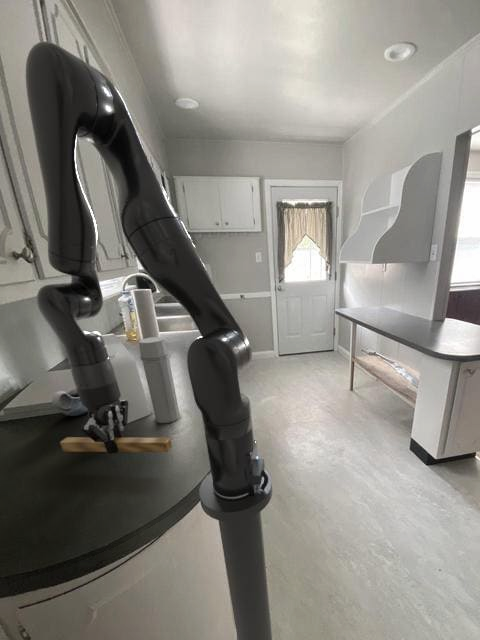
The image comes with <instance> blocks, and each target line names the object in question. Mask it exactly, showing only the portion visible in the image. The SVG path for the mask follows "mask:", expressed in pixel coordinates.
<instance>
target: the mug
mask: <svg viewBox="0 0 480 640" xmlns="http://www.w3.org/2000/svg"><path fill="white" fill-rule="evenodd" d="M51 404H52V406H53V407H54V408H55V409H57V410H59V411H60V413H62V415H65V416H67V417H79V416H83V415H85V414H88V409H87V408H86V407H85V406H83V405H82V403H81V400H80V397H79V394H78V391H77V388H74V389H70V390H67V391H62V390H60V391H56V392H55V393H53V395H52V397H51Z"/></svg>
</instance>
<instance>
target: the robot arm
mask: <svg viewBox="0 0 480 640" xmlns="http://www.w3.org/2000/svg"><path fill="white" fill-rule="evenodd" d="M25 87H26V96H27V104H28V110H29V114H30V119H31V125H32V131H33V136H34V142H35V143H34V144H35V148H36V154H37V159H38V163H39V169H40V174H41V179H42V185H43V191H44V197H45V204H46V216H47V217H46V218H47V258H48V259H47V260H48V264H49V265H50V267H52V269H54V270H55V271H57V272H59V273H62V274H65V275H67V276H70V277H71V281H70V282H62V283H51V284H45V285H43V286H42V287H40V288H39V289H38V292H37V294H36V305H37V308H38V310H39V312H40V315H42V317H43V319H44V320H45V321H46V323H47V324H48V326H49V327H50V328H51V330H52V331H53V333H54V334H55V335H56V337H57V339H59V341H60V342H61V345H62V346H63V348H64V352H65V354H66V357H67V360H68V363H69V367H70V373H71V376H72V379H73V382H74V383H73V384H74V385H75V389H77V391H78V394H79V397H80V400H81V403H82V405H83V406H85V407H86V408H87V409H88V412H87V418H88V420H87V422H86V424H82V425H81V426H80V430H81V432H83V433H84V434H85V435H86V436H87V437H90V438H91V439H92V440H93V441H95V442H104V444H105V447H106V451H107V452H106V453H108V454H110V455H111V454H114V455H115V454H117V453H119V452H118V451H119V450H118V447H117V444H116V440H115V438H125V434H124V430H125V426H127V425H128V423H127V422H128V401H127V400H125V401H124V400H119V398H120V396H121V394H120V390H119V387H118V383H117V380H116V376H115V373H114V369H113V366H112V364H111V362H110V360H109V356H108V353H107V350H106V346H105V343H104V340H103V337H102V333H100V332H99V331H97V330H83V329H82V327H81V326H80V325H79V324H78V321H80V320H81V321H82V320H86V319H90V318H94V317H96V316H98V315H99V313H100V312H101V311H102V308H103V305H104V297H103V292H102V289H101V284H100V279H99V275H98V271H97V267H96V262H97V247H98V245H97V244H98V229H97V224H96V219H95V217H94V214H93V211H92V209H91V205H90V204H89V201H88V199H87V197H86V194H85V192H84V189H83V187H82V183H81V180H80V178H79V173H78V169H77V161H76V148H77V139H80V140H82V141H84V142H88V143H89V144H91V145H92V146H93V147H94V148H95V149H96V151H97V152H98V154H99V155H100V156H101V158H102V160H103V161H104V163H105V165H106V166H107V168H108V170H109V172H110V174H111V175H112V177H113V180H114V183H115V185H116V189H117V195H118V196H117V197H118V198H117V199H118V216H119V224H120V228H121V231H122V233H123V236H124V237H125V239H126V242H127V243H128V246H129V247H130V249H131V250H132V252H133V254H134V256H135V257H136V259H137V261H138V263H139V265H140V266H141V267H142V269H143V270H144V271H145V273H146V274H147V275H148V277H150V279H151V280H153V281H154V283H155V284H157V286H159V288H161V290H163V291H164V292H165V293H167V294H168V295H169V296H170V297H171V298H172V299H174V301H176V302H177V304H179V305H180V306H181V307H182V308H183V309H184V310H185V311H186V312H187V314H188V315H189V316H190V318H191V320H192V321H193V323H194V324H195V326H196V328H197V330H198V332H199V334H200V336H199V337H197V338H195V339H194V340H193V341H192V342H190V345H189V347H188V348H187V353H186V364H187V371H188V376H189V380H190V385H191V389H192V394H193V398H194V402H195V404H196V407H197V408H198V410H199V411H200V414H201V418H202V423H203V430H204V435H205V442H206V449H207V456H208V461H209V468H210V473H211V474H212V480H213V490H214V493H215V494H216V496H217V497H219V498H220V499H223V500H227V501H236V500H241V499H244V498H246V497H248V496H254V495H255V492H256V488H257V486H258V485H260V484H261V480H262V476H263V477H264V483H263V484H262V486H261V489H262V490H264V489H265V487H266V486H267V484H268V476H267V474H266V473H265V471H264V469H266V468H265V467H266V466H265V465H266V464H265V459H264V458H259V455H258V453H259V452H258V444H257V443H258V442H257V440H256V439H254V430H253V419H252V418H253V417H252V406H251V405H252V404H251V399H250V398H249V396H247V395H246V394H244V393H242V392H241V388H240V381H239V376H240V375H241V374H242V373H244V371H246V370H247V369H248V367H249V366H250V364H251V362H252V360H253V350H252V346H251V343H250V340H249V339H248V337H247V335H246V334H245V332H244V330H243V329H242V327H241V326H240V324H239V323H238V321H237V320H236V318H235V317H234V315H233V314H232V312H231V311H230V309H229V308H228V306H227V304H226V303H225V301H224V299H223V298H222V296H221V294H220V293H219V291H218V289H217V287H216V285H215V283H214V281H213V279H212V277H211V276H210V273H209V271H208V270H207V268H206V266H205V264H204V262H203V260H202V259H201V257H200V255H199V253H198V252H197V249H196V246H195V245H194V243H193V240H192V238H191V236H190V234H189V233H188V231H187V229H186V228H185V225H184V223H183V221H182V219H181V217H180V216H179V214H178V213H177V211H176V210H175V208H174V206H173V204H172V202H171V200H170V198H169V196H168V194H167V192H166V190H165V188H164V186H163V184H162V182H161V181H160V179H159V177H158V175H157V173H156V170H155V169H154V167H153V165H152V164H151V162H150V159H149V157H148V154H147V152H146V151H145V148H144V146H143V144H142V141H141V138H140V136H139V133H138V131H137V129H136V127H135V124H134V122H133V119H132V117H131V114H130V112H129V109H128V108H127V106H126V103H125V101H124V98H123V97H122V95H121V93H120V92H119V90H118V88H117V87H116V86H115V84H114V83H113V82H112V81H111V79H109V78H108V77H107V76H106V74H104V73H102V72H101V71H100V70H98V69H97V68H96V67H94V66H92V65H91V64H89V63H87V62H86V61H84V60H83V59H81V58H80V57H79V56H76V55H75V54H73V53H72V52H69V51H68V50H67V49H65V48H63V47H62V46H60V45H58V44H56V43H54V42H50V41H38V42H37V43H36V44H34V45H32V47H31V49H30V50H29V52H28V54H27V58H26V62H25ZM121 415H123V419H122V417H121ZM106 433H107V434H106Z"/></svg>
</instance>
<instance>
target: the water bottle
mask: <svg viewBox="0 0 480 640" xmlns="http://www.w3.org/2000/svg"><path fill="white" fill-rule="evenodd" d="M138 346H139V353H140V354H139V355H140V357H139V358H140V359H139V360H141V361H142V365H143V368H144V373H145V379H146V382H147V388H148V391H149V396H150V400H151V404H152V409H153V414H154V418H155V421H156V422H157V423H159V424H168V423H174V421H176V420H178V419H179V417H180V416H181V414H180V410H179V403H178V399H177V394H176V389H175V382H174V377H173V373H172V367H171V362H170V358H171V354H170V353H169V351H168V349H167V346H166V342H165V339H164V337H160V336H154V337H146V338H143V339H140V340H138Z"/></svg>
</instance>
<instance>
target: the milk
mask: <svg viewBox="0 0 480 640" xmlns="http://www.w3.org/2000/svg"><path fill="white" fill-rule="evenodd" d="M101 335H102V334H101ZM102 337H103V340H104V343H105V346H106V350H107V353H108V356H109V360H110V362H111V364H112V366H113V369H114V373H115V376H116V380H117V383H118V387H119V390H120V394H121V396H120V398H119V400H124V401H125V400H127V401H128V422H127V424H129V423H132V422H135V421H138V420H141V419H143V418H145V417H148V416H151V414H152V413H151V410H150V406H149V403H148V399H147V396H146V392H145V389H144V385H143V383H142V378H141V376H140V373H139V369H138V368H139V367H138V366H137V362H136V360H135V358H134V356H133V354H132V353H131V352H130V351H129V350H128V349H127V348H126V347H125V346H124V344H123V343H122V342H121V341H120V340H119V338H118V337H117V336H116V335H115V334H114V333H108V334H107V333H106V334H103V335H102ZM121 417H122V419H123V415H121Z"/></svg>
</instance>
